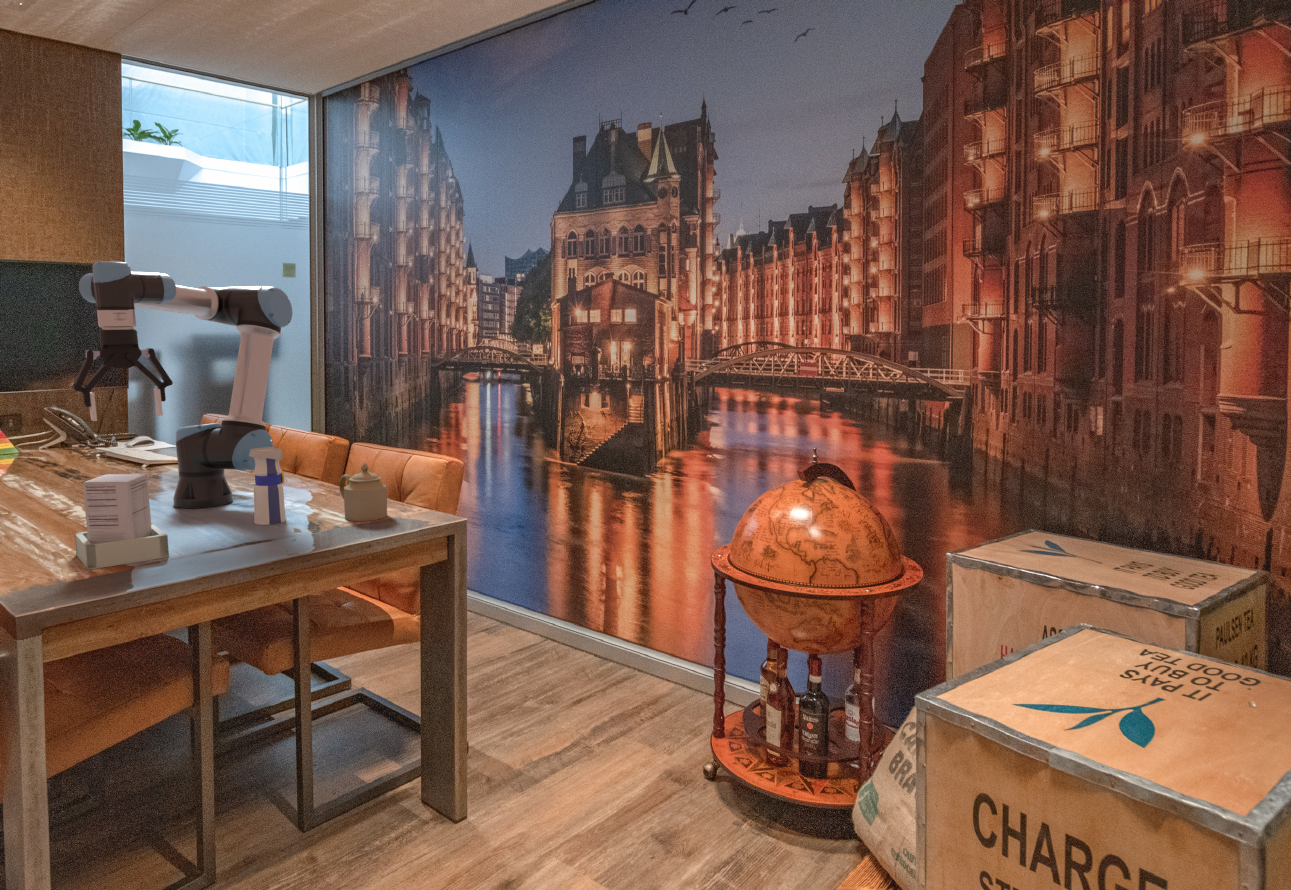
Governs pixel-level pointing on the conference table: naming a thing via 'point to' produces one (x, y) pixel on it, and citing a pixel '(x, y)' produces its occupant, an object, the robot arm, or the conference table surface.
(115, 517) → the supplement box
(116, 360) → the robot arm
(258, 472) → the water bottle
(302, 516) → the conference table surface
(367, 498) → the sugar bowl
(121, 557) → the crate
